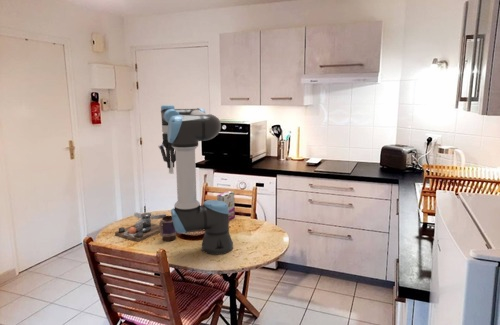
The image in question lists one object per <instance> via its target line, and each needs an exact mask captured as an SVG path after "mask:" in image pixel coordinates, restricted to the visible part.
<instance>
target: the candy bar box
mask: <svg viewBox="0 0 500 325" xmlns="http://www.w3.org/2000/svg"><path fill="white" fill-rule="evenodd" d="M216 200H217V201H222V202H225V203H226V204H227V205H228V210H229V221H231V220H233V219H235V218H236V211H235V210H236V209H235V191H230V190H227V191H224V192H222V193H220V194H217V195H216Z"/></svg>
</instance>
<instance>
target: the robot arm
mask: <svg viewBox="0 0 500 325" xmlns="http://www.w3.org/2000/svg"><path fill="white" fill-rule="evenodd" d="M160 115H161V132H162V136H161V137H162V142H161V144H159V145H158V148H159V150H160V152H161V156H162V159H163V162H165V163H167V164H166V165H167V169H168V174H170V175H171V174H172V175H173V174H174V169H175V170H176V192H177V193H176V194H177V201H176V202H174V204H173V205H174V207H173V208H172V209H170V214H171V215H170V216H172V220H173V224H174V228H175V230H176V234H187V233H193V232H194V233H195V232H202V231H204V235H203V239H202V241H201V250H202V252H203V253H205V254H209V255H222V254H226V253H229V252H231V251H232V250H233V249H234V242H233V239H232V237H231V234H230V220H229V210H228V205H227V204H226V203H225V202H222V201H217V199H215V200H214V199H207V200H205V201H203V204H201V203H200V201H199V200H197V198H198V197H197V175H196V174H197V172H196V171H197V169H196V168H197V167H196V149H197V148H198V147H199V142H204V141H205V142H206V141H210V140H212V139H214V138H215V137H216V136H218V135H219V134H220V133H221V132H220V131H221V129H222V124H221V120H220V119H219V117H217V116H216V115H214V114H210V113H209V114H207V113H206V111H205V109H204V108H199V107H197V108H175V105H172V104H170V105H169V104H167V105H166V104H165V105H164V104H163V105H161V106H160ZM175 167H176V168H175Z"/></svg>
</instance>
